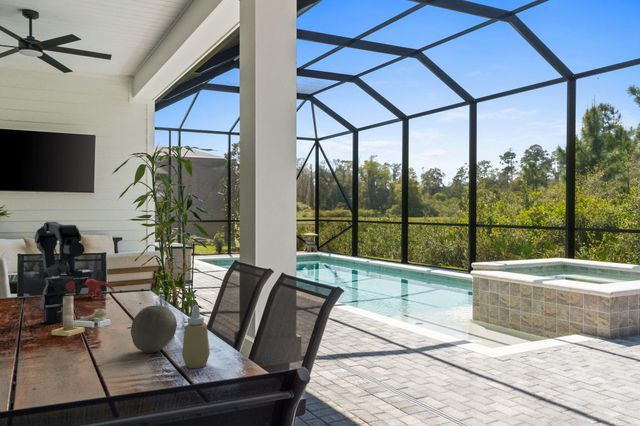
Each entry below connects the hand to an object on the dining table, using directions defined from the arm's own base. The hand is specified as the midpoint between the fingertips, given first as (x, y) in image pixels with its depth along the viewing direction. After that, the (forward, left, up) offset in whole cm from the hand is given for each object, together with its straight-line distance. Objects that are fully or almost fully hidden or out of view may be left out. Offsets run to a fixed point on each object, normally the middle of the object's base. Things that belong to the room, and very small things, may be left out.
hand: (67, 295), depth 203 cm
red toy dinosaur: (-49, +67, -13) cm, 84 cm away
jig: (+2, +2, -13) cm, 13 cm away
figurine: (+1, +9, -13) cm, 16 cm away
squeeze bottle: (+76, -29, -13) cm, 82 cm away
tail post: (+6, -6, -13) cm, 16 cm away
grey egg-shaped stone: (+54, -19, -13) cm, 59 cm away
